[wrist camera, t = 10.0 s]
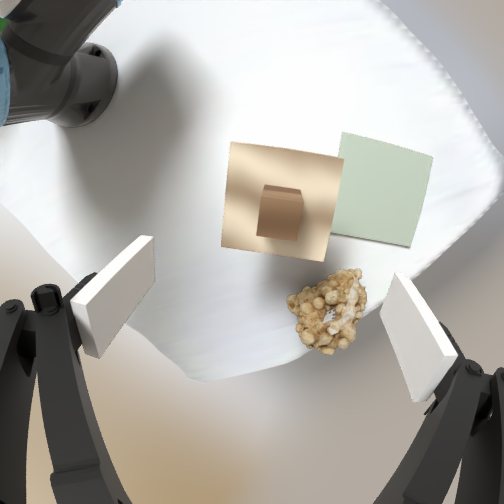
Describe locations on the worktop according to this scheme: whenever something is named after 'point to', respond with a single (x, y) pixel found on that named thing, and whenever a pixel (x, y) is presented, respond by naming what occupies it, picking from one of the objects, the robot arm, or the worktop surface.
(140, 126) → the worktop surface
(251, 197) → the lid
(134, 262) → the robot arm
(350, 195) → the mat
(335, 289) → the mineral formation
